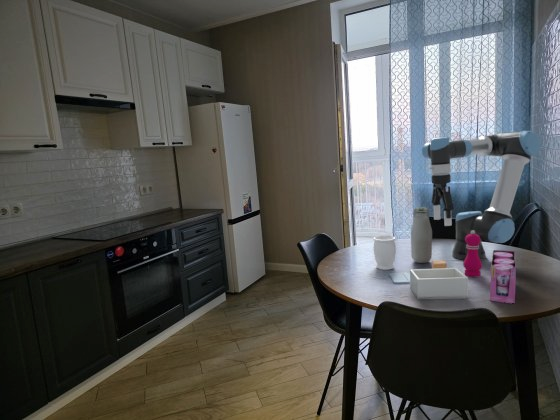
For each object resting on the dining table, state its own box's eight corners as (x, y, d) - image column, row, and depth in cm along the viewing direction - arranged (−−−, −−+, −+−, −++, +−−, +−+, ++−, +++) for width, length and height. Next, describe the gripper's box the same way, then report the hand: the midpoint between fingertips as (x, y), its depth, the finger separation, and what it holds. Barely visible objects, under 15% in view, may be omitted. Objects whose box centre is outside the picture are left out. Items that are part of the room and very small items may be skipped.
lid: (440, 272, 169) (440, 257, 168) (450, 282, 156) (450, 266, 155) (388, 274, 171) (388, 260, 170) (394, 284, 159) (394, 268, 158)
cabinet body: (455, 286, 151) (455, 267, 150) (467, 298, 139) (467, 277, 138) (410, 288, 153) (409, 269, 152) (418, 299, 141) (417, 279, 140)
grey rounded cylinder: (412, 265, 182) (411, 209, 178) (410, 259, 192) (409, 205, 188) (433, 265, 179) (433, 208, 175) (431, 259, 189) (430, 205, 185)
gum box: (515, 305, 130) (516, 268, 128) (489, 302, 134) (489, 266, 132) (514, 283, 150) (515, 251, 148) (492, 281, 154) (492, 249, 152)
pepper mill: (480, 272, 165) (480, 228, 163) (483, 277, 159) (483, 232, 156) (462, 271, 168) (462, 228, 165) (464, 277, 161) (464, 232, 158)
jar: (397, 270, 176) (396, 239, 173) (374, 270, 178) (373, 240, 176) (395, 264, 186) (394, 234, 184) (373, 264, 188) (372, 235, 186)
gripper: (423, 173, 172) (425, 217, 175) (441, 177, 148) (443, 229, 151) (439, 171, 171) (441, 216, 175) (461, 175, 147) (462, 227, 150)
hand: (442, 222), depth 163 cm, fingers open, 13 cm apart
